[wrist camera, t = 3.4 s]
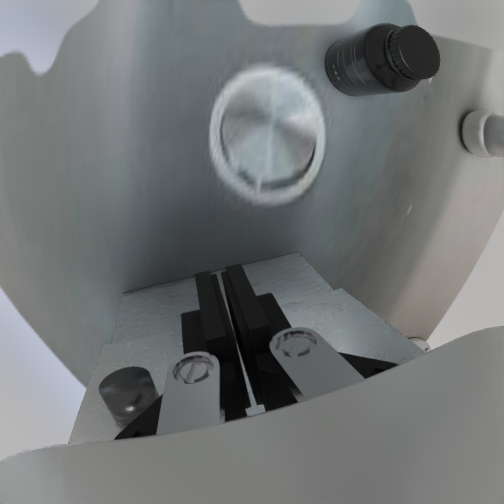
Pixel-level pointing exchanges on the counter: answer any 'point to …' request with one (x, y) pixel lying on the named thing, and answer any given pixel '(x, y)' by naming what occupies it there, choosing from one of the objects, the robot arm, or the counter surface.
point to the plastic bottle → (484, 133)
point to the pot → (186, 298)
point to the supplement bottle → (382, 60)
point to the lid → (171, 347)
